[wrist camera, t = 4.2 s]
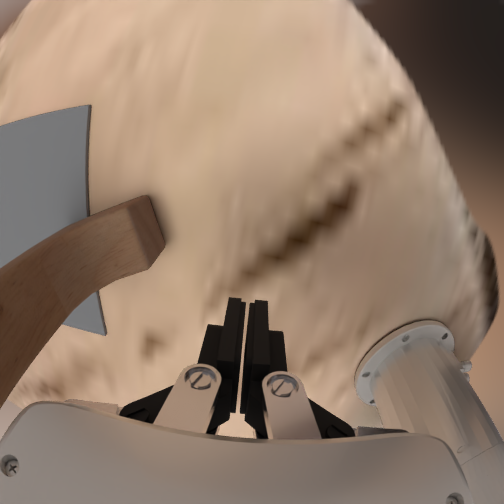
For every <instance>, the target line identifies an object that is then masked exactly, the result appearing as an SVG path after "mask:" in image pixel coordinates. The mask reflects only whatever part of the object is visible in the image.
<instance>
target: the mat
mask: <svg viewBox="0 0 504 504" xmlns="http://www.w3.org/2000/svg"><path fill="white" fill-rule="evenodd" d="M90 113H91V105H85V106H79V107H74V108H68V109H63V110H59V111H54V112H49V113H45V114H41V115H37V116H33V117H29V118H26V119H22V120H19V121H15V122H12V123H9V124H6V125H2V126H0V268H2V267H3V266H4V265H6V264H7V263H9V262H10V261H12V260H13V259H15V258H16V257H17V256H19V255H21V254H22V253H24V252H25V251H27V250H28V249H30V248H31V247H33V246H34V245H36V244H38V243H39V242H41V241H42V240H44V239H46V238H47V237H49V236H51V235H52V234H54V233H56V232H58V231H59V230H61V229H63V228H64V227H66V226H68V225H71V224H73V223H75V222H77V221H80V220H82V219H84V218H87V217H89V201H88V142H89V125H90ZM62 324H63V325H67V326H70V327H74V328H77V329H81V330H85V331H88V332H92V333H96V334H100V335H104V336H106V334H107V331H106V327H105V323H104V318H103V313H102V308H101V303H100V298H99V292H98V291H96V292H95V293H93V294H91V295H90V296H89V297H88V298H87V299H85V300H84V301H83V302H82V303H81V304H80V305H79V306H78V307H76V308H75V309H74V310H73V311H72V313H71V314H70V315H69V316H68V317H67V318H66V320H65V321H64V322H63V323H62Z"/></svg>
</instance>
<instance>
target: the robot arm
mask: <svg viewBox="0 0 504 504" xmlns="http://www.w3.org/2000/svg"><path fill="white" fill-rule="evenodd" d="M245 308H246V302H241V298H231V297H229V300H228V305H227V310H226V315H225V321H224V326H219V325H211V324H208V326H207V330H206V333H205V337H204V341H203V344H202V348H201V352H200V356H199V359H198V363H197V364H193V365H190V366H188V367H186V368H185V369H184V370H183V371H182V372H181V373H180V375H179V377H178V379H177V381H176V383H175V384H174V385H173V386H170V387H168V388H166V389H163V390H161V391H159V392H156V393H154V394H152V395H149V396H147V397H144V398H142V399H140V400H137V401H135V402H132V403H130V404H128V405H126V406H124V407H118V404H109V403H99V402H90V401H83V400H76V399H69V400H66V401H64V402H62V401H40V402H35V403H32V404H30V405H28V406H27V407H26V408H24V409H23V410H22V411H21V412H20V413H19V415H18V416H17V417H16V418H15V419H14V421H13V422H12V423H11V425H10V426H9V428H8V429H7V431H6V432H5V434H4V435H3V437H2V439H1V441H0V504H504V441H503V439H502V437H501V436H500V434H499V432H498V430H497V428H496V426H495V425H494V423H493V421H492V419H491V418H490V416H489V414H488V412H487V411H486V409H485V407H484V406H483V404H482V402H481V401H480V399H479V398H478V396H477V394H476V393H475V391H474V390H473V388H472V386H471V385H470V384H469V375H468V374H467V373H463V372H468V371H470V370H471V367H472V364H471V361H463V362H459V361H458V359H457V358H456V356H455V355H454V354H453V353H454V346H455V342H454V337H453V335H452V333H451V332H450V330H449V329H448V328H447V327H446V326H445V325H444V324H442V323H440V322H437V321H433V320H428V321H419V322H415V323H412V324H409V325H406V326H404V327H402V328H400V329H398V330H396V331H394V332H392V333H391V334H389V335H388V336H386V337H385V338H384V339H382V340H381V341H380V342H379V343H378V344H376V345H375V346H374V347H373V348H372V349H371V350H370V351H369V353H368V354H367V355H366V356H365V357H364V359H363V360H362V362H361V363H360V365H359V367H358V369H357V371H356V375H355V379H354V385H355V389H356V392H357V395H358V397H359V399H360V400H362V401H363V402H364V403H366V404H368V405H371V406H376V407H377V409H378V412H379V415H380V418H381V421H382V424H383V426H384V428H372V427H361V426H358V427H357V429H355V428H352V427H351V426H350V425H348V424H347V423H346V422H344V421H343V420H341V419H339V418H338V417H336V416H335V415H333V414H332V413H330V412H328V411H327V410H325V409H324V408H322V407H321V406H319V405H318V404H316V403H315V402H313V401H312V400H310V399H309V398H308V397H307V395H306V392H305V389H304V386H303V383H302V382H301V380H300V379H299V378H298V377H297V376H295V375H294V374H292V373H288V372H287V363H286V354H285V344H284V334H283V331H271V330H269V324H268V301H262V300H255V303H250V306H249V316H248V325H247V334H246V343H245V352H244V365H243V378H242V391H241V404H240V413H241V414H245V421H246V422H247V423H248V424H249V425H250V426H251V427H253V436H254V439H253V438H240V437H229V436H220V435H218V432H219V428H220V425H221V424H223V423H225V422H226V421H228V420H229V418H230V413H235V412H236V403H237V393H238V383H239V373H240V363H241V353H242V341H243V330H244V319H245Z"/></svg>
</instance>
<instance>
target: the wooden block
mask: <svg viewBox="0 0 504 504" xmlns="http://www.w3.org/2000/svg"><path fill="white" fill-rule="evenodd" d="M164 248H165V242H164V239H163V237H162V234H161V231H160V228H159V226H158V223H157V220H156V217H155V214H154V211H153V208H152V205H151V202H150V199H149V198H148V196H141V197H138V198H135V199H133V200H130V201H127V202H125V203H122V204H119V205H117V206H114V207H112V208H109V209H106V210H104V211H101V212H99V213H97V214H94V215H92V216H89V217H87V218H84V219H82V220H80V221H77V222H75V223H73V224H71V225H68V226H66V227H64V228H63V229H61V230H59V231H58V232H56V233H54V234H52V235H51V236H49V237H47V238H46V239H44V240H42V241H41V242H39V243H38V244H36V245H34V246H33V247H31V248H30V249H28V250H27V251H25V252H24V253H22V254H21V255H19V256H17V257H16V258H15V259H13V260H12V261H10V262H9V263H7V264H6V265H4V266H3V267H2V268H0V408H1V407H2V405H3V404H4V402H5V401H6V399H7V397H8V396H9V394H10V393H11V391H12V390H13V388H14V387H15V385H16V384H17V383H18V381H19V380H20V378H21V377H22V375H23V374H24V373H25V371H26V370H27V368H28V367H29V366H30V364H31V363H32V362H33V360H34V359H35V358H36V356H37V355H38V354H39V352H40V351H41V350H42V348H43V347H44V346H45V344H46V343H47V342H48V341H49V339H50V338H51V337H52V336H53V334H54V333H55V332H56V331H57V329H58V328H59V327H60V326H61V324H62V323H63V322H64V321H65V320H66V318H67V317H68V316H69V315H70V314H71V313H72V311H73V310H74V309H75V308H76V307H78V306H79V305H80V304H81V303H82V302H83V301H84V300H85V299H87V298H88V297H89V296H90V295H91V294H93V293H95V292H96V291H98V290H100V289H101V288H103V287H105V286H107V285H108V284H110V283H112V282H114V281H115V280H118V279H121V278H124V277H127V276H130V275H133V274H136V273H139V272H142V271H145V270H148V269H149V268H150V267H151V266H152V264H153V263H154V262H155V260H156V259H157V257H158V256H159V255H160V253H161V252H162V250H163V249H164Z"/></svg>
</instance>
